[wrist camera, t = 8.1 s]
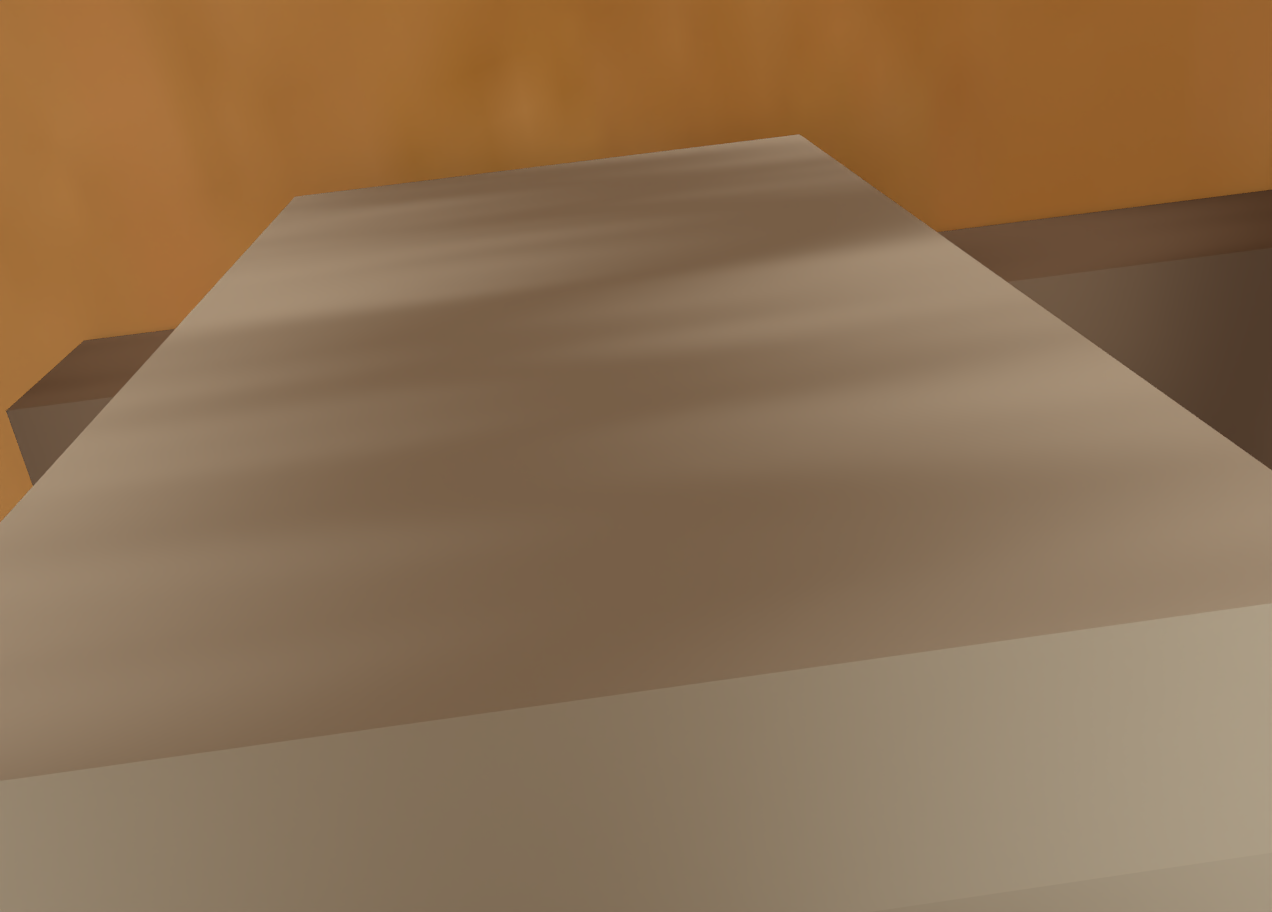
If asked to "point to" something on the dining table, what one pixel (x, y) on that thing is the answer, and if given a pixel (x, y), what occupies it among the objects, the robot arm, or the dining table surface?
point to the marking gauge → (635, 577)
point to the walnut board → (1017, 252)
